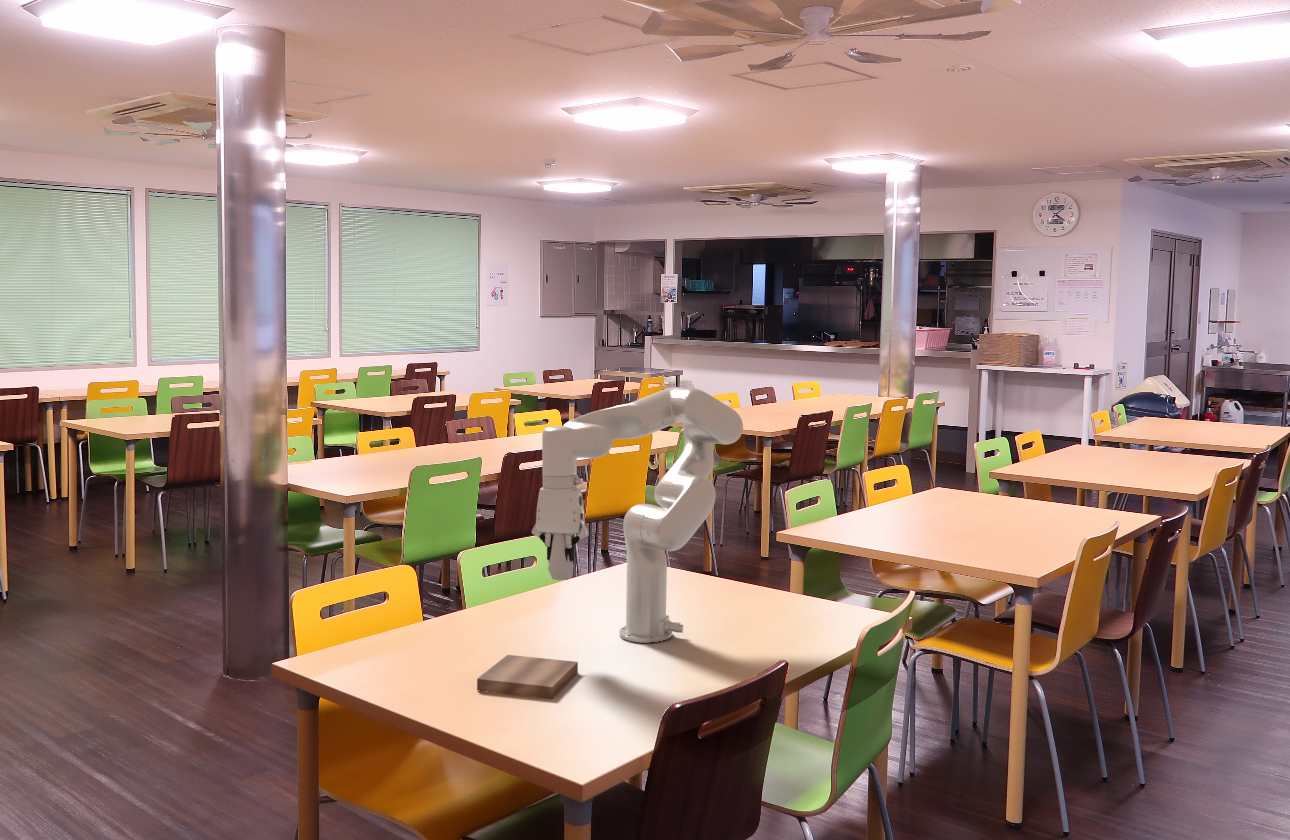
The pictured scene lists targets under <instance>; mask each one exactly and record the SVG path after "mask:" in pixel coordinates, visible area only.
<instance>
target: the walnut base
mask: <svg viewBox="0 0 1290 840" xmlns="http://www.w3.org/2000/svg"><path fill="white" fill-rule="evenodd" d="M578 663H579V661H574V660H564V659H555V658H553V659H552V658H543V657H532V656H525V655H516V654H515V655H513V654H507V655H505V656H504V657H503V658H502V659H500V660H499V661H498V662H497V663H495V664H494V665H493V666H491V667H490V668H489V669H487V670H486V671H485V672H484V673H482V674H481V675H480V676H479V677H477V679H476V691H477V690H480V691H479V692H483V691H488V692H487V693H492V692H496V693H495V694H501V693H503V694H502V695H509V696H510V695H511V696H512V695H513V696H521V697H528V698H539V699H548V700H553V699H555V697H556V696H557V695H558V694H559V693H560V692H561V691H562V690H563V689H564V687H566V686H567V685H568V684H569V682H571V681H572V680H573V679H574V678H575V677H576V676H577V674H578V673H579V670H578V667H579V664H578Z"/></svg>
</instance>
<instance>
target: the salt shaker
mask: <svg viewBox="0 0 1290 840" xmlns="http://www.w3.org/2000/svg"><path fill="white" fill-rule="evenodd" d="M551 547H552V550H551V556H550V561H549V560H547V561H548V562H547V568H546V569H547V571H548V573H549V574H550V577H551V579H552V580H554V581H556V580H557V581H564V580H565V581H566V580H568V579H570V578H571V577H572V575H573V574H572V573H573V571H574V567H575V565H574V560H573V561H572V562H571V561H570V560H569V555H568V558H567V561H566V557H565V548H567V546H566V536H565V534H553V540H552V546H551Z"/></svg>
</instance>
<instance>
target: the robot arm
mask: <svg viewBox="0 0 1290 840" xmlns="http://www.w3.org/2000/svg"><path fill="white" fill-rule="evenodd" d="M676 424H682V428H683V430H682V431H683V436H684V442H683V443H684V445H683V450H682V452H681V454H679V456H678V459H676V461H675V462H674V463H673V464H672V465H671V467H670V468H669V469H668V470H667V472H666V473H665V474H664V475H663V477H662V478H661V479H660V480H659V482H658V483H657V484H656V486H655V489H654V493H653V494H654V496H653V497H654V500H655V503H657V504H658V505H659V506H658V505H654V504H650V503H639V504H635V505H633V506H632V507H630V508H629V510H628V511H627V512H626V513H625V515H624V518H623V524H622V525H623V526H622V528H623V535H624V541H625V548H626V596H625V597H626V607H625V608H626V609H625V610H626V612H625V626H623V627H621V628H620V629H619V637H620V638H621V639H622V640H623V639H624V640H626V641H628V642H634V643H639V644H641V643H642V644H644V643H645V644H651V643H650V642H655V643H659V642H658V641H661V642H664V641H663V640H665V641H667V640H666V639H668V638H670V637H671V636H672V637H673V632H674V633H679V634H680V633H681V634H683V633H684V624H681V622H677V621H671V620H670V615H667V585H668V584H667V583H668V580H667V578H668V577H667V576H668V563H667V562H668V560H667V556H666V552H674V551H678V550H680V549H681V548H683V547H684V546H685V545H686V544H687V543H688V542H689V541H690V539H692V537H694V534H695V533H697V531H698V529H699V528H700V527H701V526H702V524H703V523H704V522H705V521H706V519H707V518H708V517H709V515H710V513H711V512H712V511H713V509H714V506H715V503H716V499H717V498H716V497H717V493H716V488H715V486H714V484H713V482H712V481H710V479H708V477H709V476H710V474H711V472H712V471H713V469H714V464H715V457H714V449H713V448H714V447H713V444H719V445H731V444H734V443H736V442H737V441H738V440H739V439H740V438H741V436H742V434H743V430H744V424H743V420H742V417H741V416H740V414H739V412H737V411H736V410H735V409H733V408H732V407H730V406H728V405H727V404H725V403H723V402H722V401H720V400H719V399H717V398H715V396H712V395H711V394H709V393H707V392H705V391H704V390H702V389H699V388H694V387H693V388H691V387H683V386H682V387H681V386H670V387H667V388H663V389H662V390H659V391H657V392H654V393H652V394H649V395H647V396H644V397H641V398H639V399H636V400H634V401H631V402H628V403H624V404H619V405H615V406H612V407H607V408H603V409H599V410H595V411H592V412H588V413H586V414H583V415H581V416H578V417H575V418H573V419H570V420H568V421H567V422H566V423H564V424H563V425H553V426H547V427H545V428H543V431H542V434H541V435H542V436H541V437H542V438H541V444H542V447H541V448H542V450H541V452H542V454H541V457H542V462H541V463H542V464H541V465H542V487H540V488H539V492H538V498H537V505H536V515H535V516H536V517H535V518H536V519H535V524H534V526H533V528H532V529H531V534H532V535H533V536H535V537H537V538H539V540H541V542H542V543H543V544H544V546H545V547H546V560H547V561H550V556H551V550H552V547H551V546H552V540H553V534H565V536H566V546H567V548H565V557H566V561H567V558H568V555H569V560H570V561H571V562H572V561H573V562H574V559H575V558H574V557H575V556H574V554H575V553H574V552H575V551H574V549H575V546H576V544H578V543H579V542H580V541H581V540H584V539H585V538H588V536H589V535H590V533H589V531H588V528H587V527H586V524H585V523H586V521H585V519H586V517H585V508H584V506H585V505H584V500H583V494H582V489H581V487H578V485H583V483H584V479H583V478H582V477H581V478H580V477H579V476H578V474H577V472H578V470H577V469H578V468H577V466H578V465H577V464H578V463H577V461H578V459H579V458H582V459H584V458H586V459H599V458H601V457H604V456H605V455H607V454H608V453H609V452H610V450H612V447H613V444H614V443H613V441H614V440H632V439H640V438H644V437H647V436H649V435H651V434H654V433H656V432H659V431H660V430H662V429H663V430H664V429H665V428H667V427H670V426H672V425H676ZM578 533H579V534H578ZM576 534H577V535H576ZM589 537H590V536H589ZM672 637H671V638H672ZM671 638H670V639H671ZM668 640H669V639H668Z"/></svg>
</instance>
